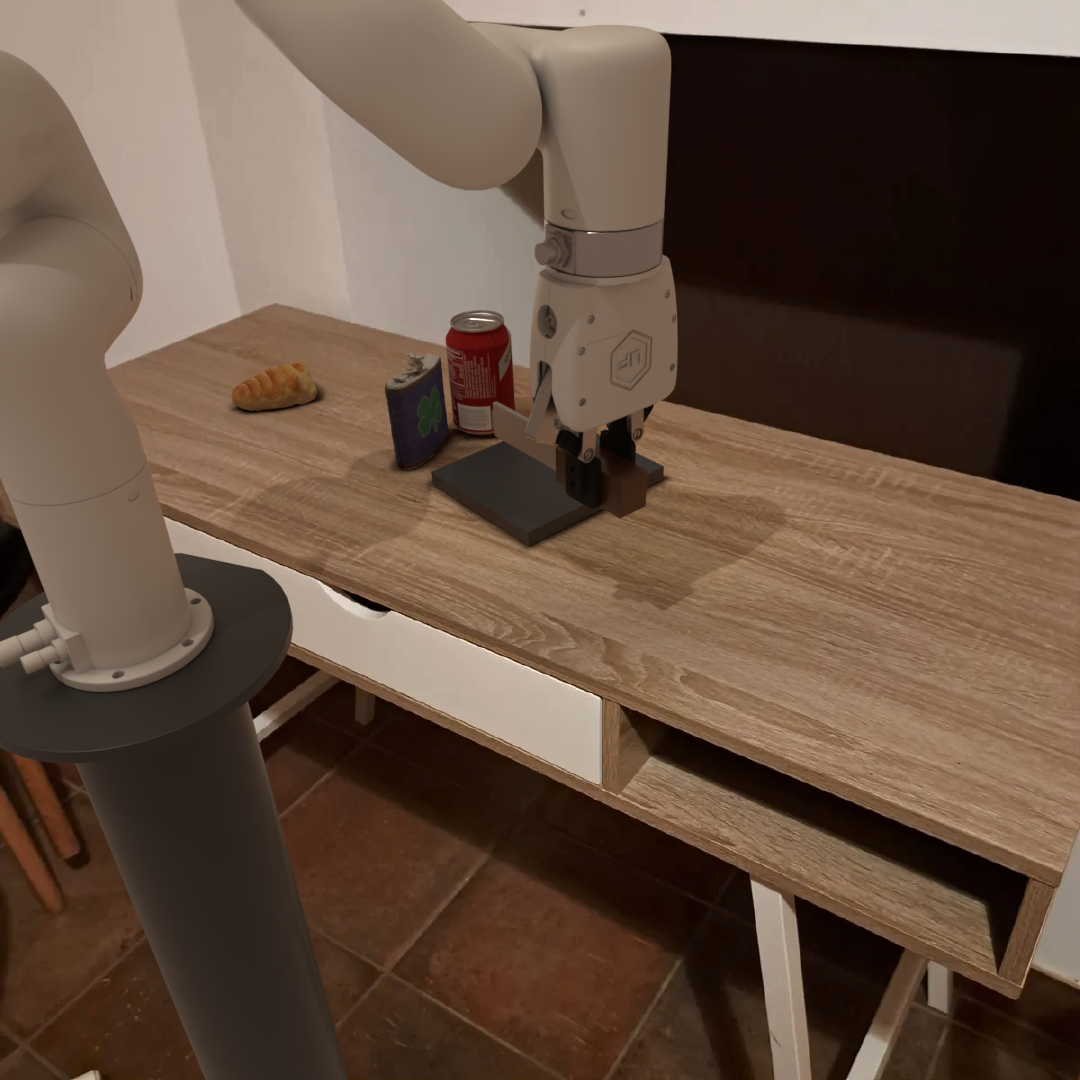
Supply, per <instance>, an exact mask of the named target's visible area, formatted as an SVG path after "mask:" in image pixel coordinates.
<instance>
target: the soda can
mask: <svg viewBox="0 0 1080 1080" xmlns="http://www.w3.org/2000/svg"><path fill="white" fill-rule="evenodd" d="M449 325H450V328H449V329H448V331H447V334H446V335H445V349H446V361H447V370H448V380H449V392H450V401H451V411H452V422H453V425H454V427H455V428H456V429H457V430H459V431H462V432H464V433H467V434H469V435H473V436H479V437H481V436H482V437H484V436H493V435H495V434H494V415H493V402H496V401H497V402H499V403H501V404H503V405H505V406H506V407H508V408H510V409H512V410H514V411H516V399H515V381H514V379H515V378H514V366H513V365H514V364H513V363H514V361H513V346H512V333H511V331H510V329H509V328H508V327H507V325H506V324H505V317H504V316H503V314H501V313H500V312H497V311H493V310H489V309H475V310H468V311H463V312H460V313H457V314H455V315H454V316H452V317H451V319H450V320H449Z"/></svg>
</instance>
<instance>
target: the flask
mask: <svg viewBox="0 0 1080 1080" xmlns="http://www.w3.org/2000/svg"><path fill="white" fill-rule="evenodd" d="M405 356H407V357H409V362H407V365H406V366H405V371H403V372H401V373H400V374H398V375H392V378H391V379H389V380H388V381H387V382H385V384H384V393H385V398H386V406H387V412H388V416H389V417H388V418H389V423H390V431H391V432H390V433H391V437H392V443H393V449H394V454H395V456H394V457H395V465H396V469H397V470H401V471H411V470H413V469H417V468H418V467H421V466H422V465H423V464H424V463H425V462H427V461H429V459H431V458H432V457H433V456H434V455H435V454H436V453H437V451H438V450H439V449H440V448H441V447H442V445H443V444H444V443H445V442H446V441H447V439H448V437H449V424H448V413H447V407H446V397H445V389H444V379H443V367H442V358H441V356H439V354H433V353H428V354H422V355H421V354H418V353H417V354H416V353H414V352H412V351H411V352H409V353H406V354H405Z"/></svg>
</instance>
